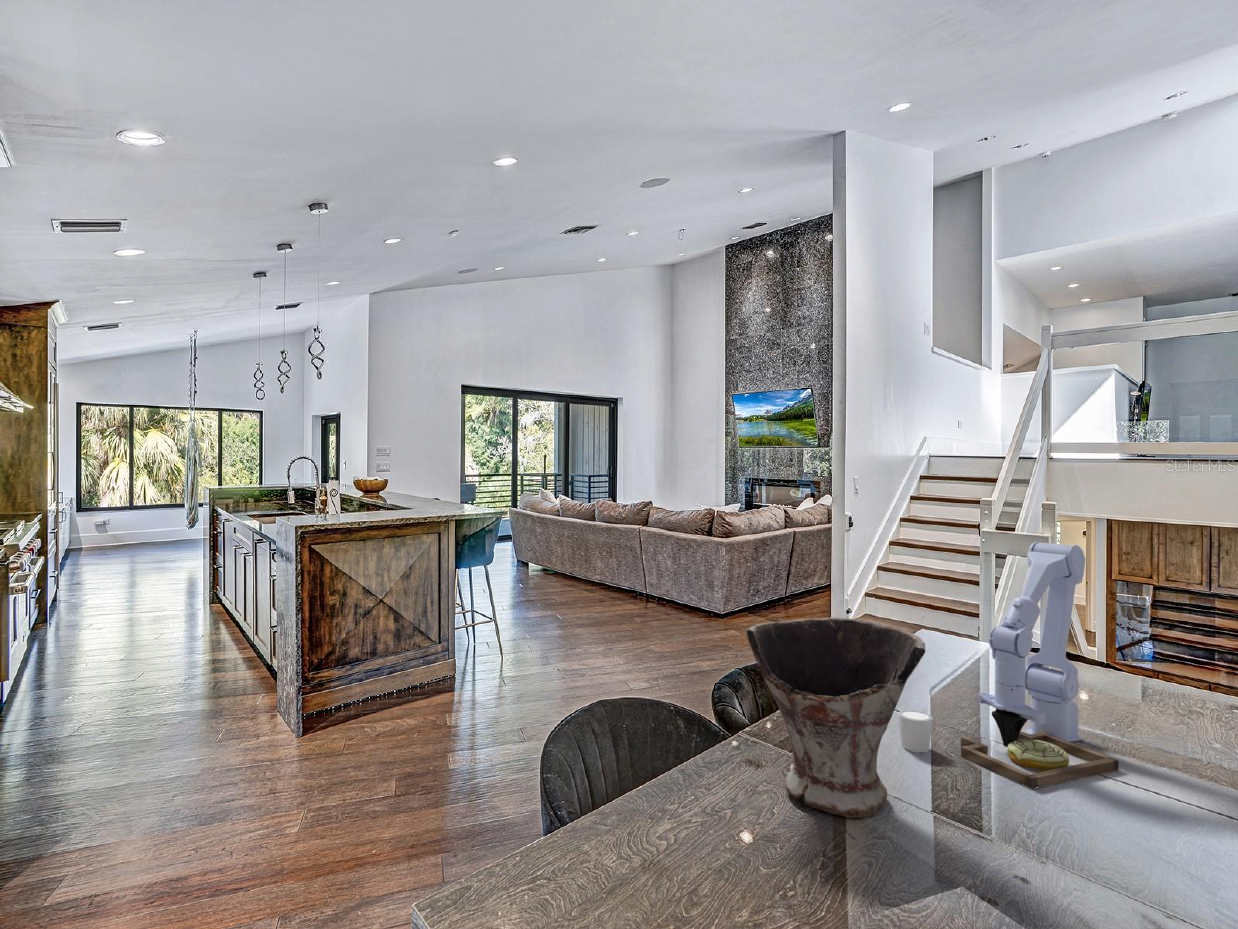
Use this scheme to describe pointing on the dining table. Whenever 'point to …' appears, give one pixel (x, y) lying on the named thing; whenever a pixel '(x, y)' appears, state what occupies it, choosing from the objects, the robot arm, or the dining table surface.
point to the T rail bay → (1095, 767)
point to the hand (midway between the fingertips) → (1009, 746)
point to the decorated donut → (1037, 755)
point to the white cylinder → (915, 730)
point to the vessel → (835, 703)
